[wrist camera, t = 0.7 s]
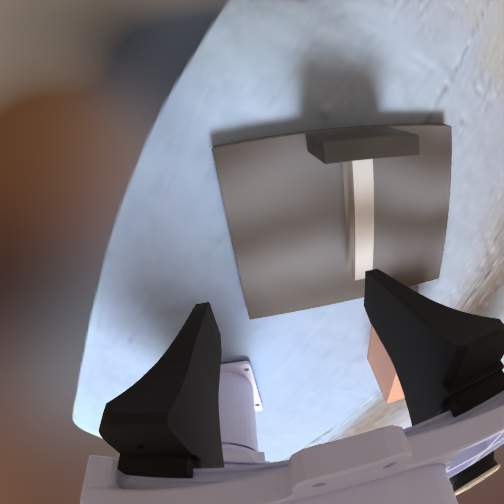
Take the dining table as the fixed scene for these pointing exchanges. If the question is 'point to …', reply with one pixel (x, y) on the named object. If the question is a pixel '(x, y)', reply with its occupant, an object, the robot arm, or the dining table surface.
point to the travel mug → (474, 473)
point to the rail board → (335, 211)
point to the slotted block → (384, 369)
